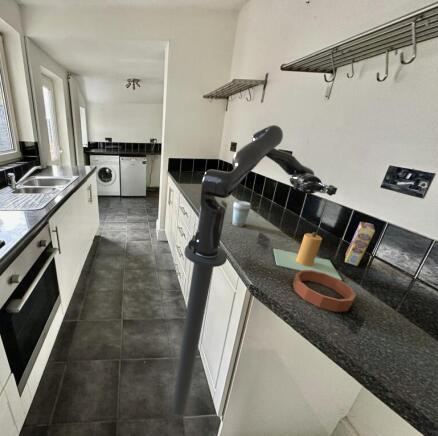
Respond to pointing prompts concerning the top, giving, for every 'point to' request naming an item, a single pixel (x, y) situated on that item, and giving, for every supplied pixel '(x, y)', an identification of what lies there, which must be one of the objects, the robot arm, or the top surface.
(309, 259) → the orange cylinder
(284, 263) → the towel
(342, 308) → the ring
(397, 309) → the top surface
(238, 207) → the coffee cup
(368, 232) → the candy box
